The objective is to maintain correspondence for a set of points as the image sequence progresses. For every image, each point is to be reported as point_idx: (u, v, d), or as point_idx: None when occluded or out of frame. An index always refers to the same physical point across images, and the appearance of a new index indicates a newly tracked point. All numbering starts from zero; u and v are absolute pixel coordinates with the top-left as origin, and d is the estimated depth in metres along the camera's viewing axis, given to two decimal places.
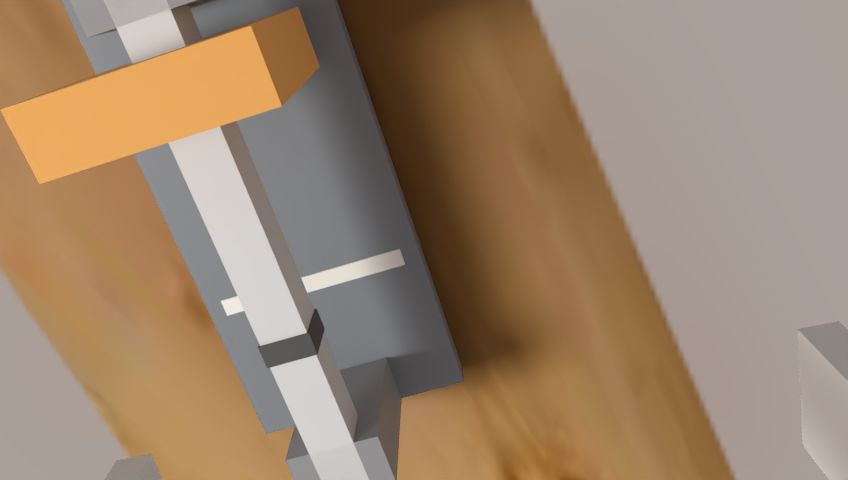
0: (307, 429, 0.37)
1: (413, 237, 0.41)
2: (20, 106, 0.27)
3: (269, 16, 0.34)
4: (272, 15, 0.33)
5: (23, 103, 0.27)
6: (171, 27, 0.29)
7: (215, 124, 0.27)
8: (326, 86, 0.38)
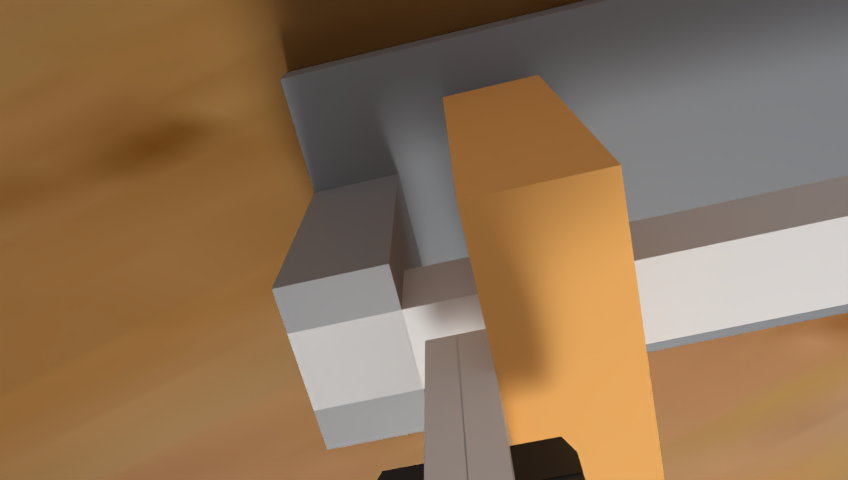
0: None
1: None
2: None
3: None
4: None
5: None
6: (429, 313, 0.18)
7: (633, 294, 0.14)
8: (551, 71, 0.24)
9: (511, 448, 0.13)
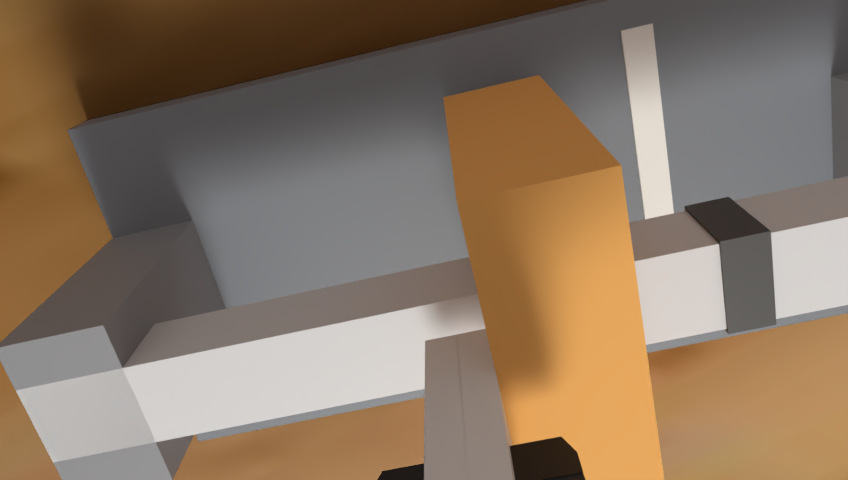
0: None
1: (603, 3, 0.23)
2: None
3: None
4: None
5: None
6: (149, 371, 0.19)
7: (633, 295, 0.14)
8: (331, 123, 0.24)
9: (511, 448, 0.13)
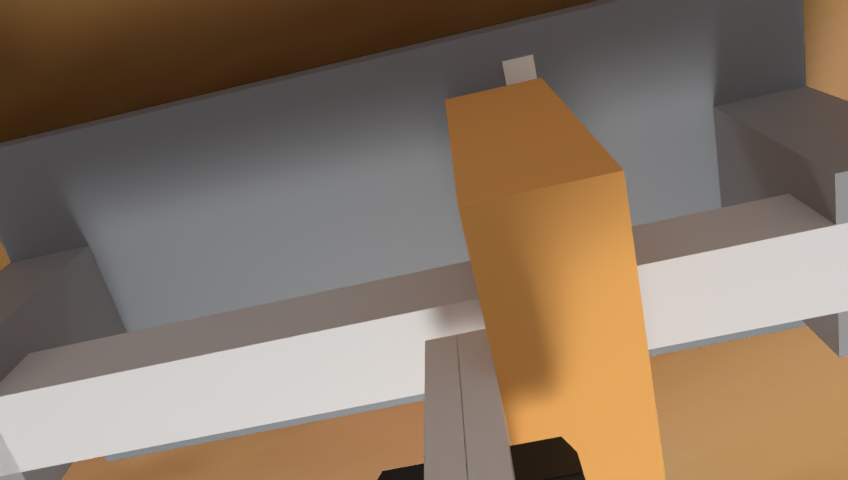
0: (777, 308, 0.18)
1: (483, 34, 0.23)
2: None
3: None
4: None
5: None
6: (9, 403, 0.19)
7: (635, 301, 0.14)
8: (220, 151, 0.25)
9: (511, 448, 0.13)
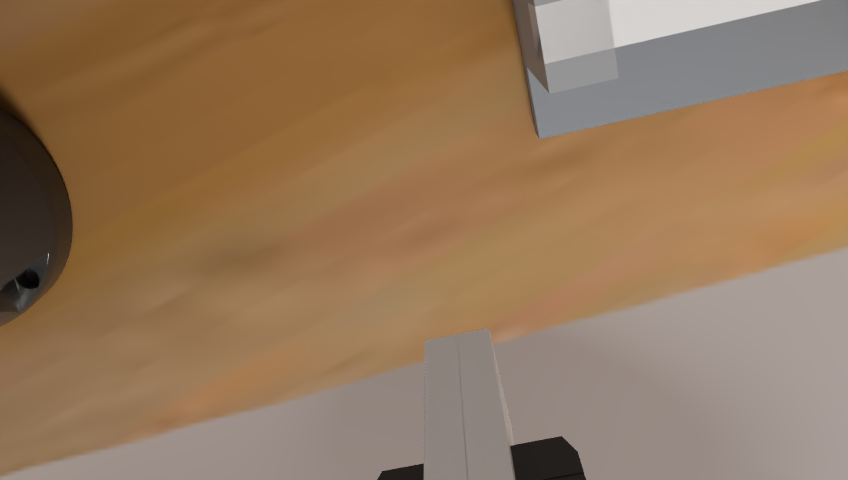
0: None
1: None
2: None
3: None
4: None
5: None
6: None
7: None
8: None
9: (511, 448, 0.13)
